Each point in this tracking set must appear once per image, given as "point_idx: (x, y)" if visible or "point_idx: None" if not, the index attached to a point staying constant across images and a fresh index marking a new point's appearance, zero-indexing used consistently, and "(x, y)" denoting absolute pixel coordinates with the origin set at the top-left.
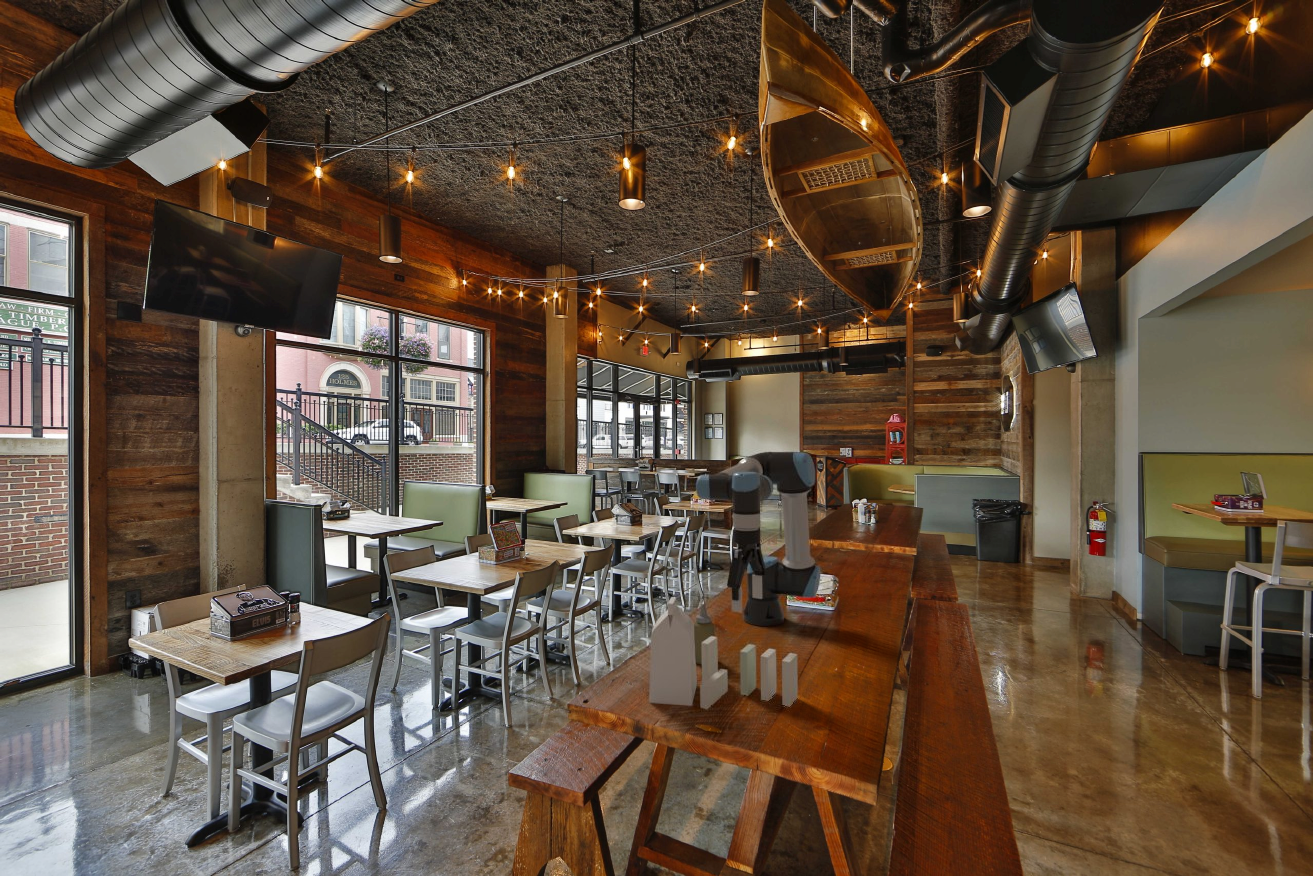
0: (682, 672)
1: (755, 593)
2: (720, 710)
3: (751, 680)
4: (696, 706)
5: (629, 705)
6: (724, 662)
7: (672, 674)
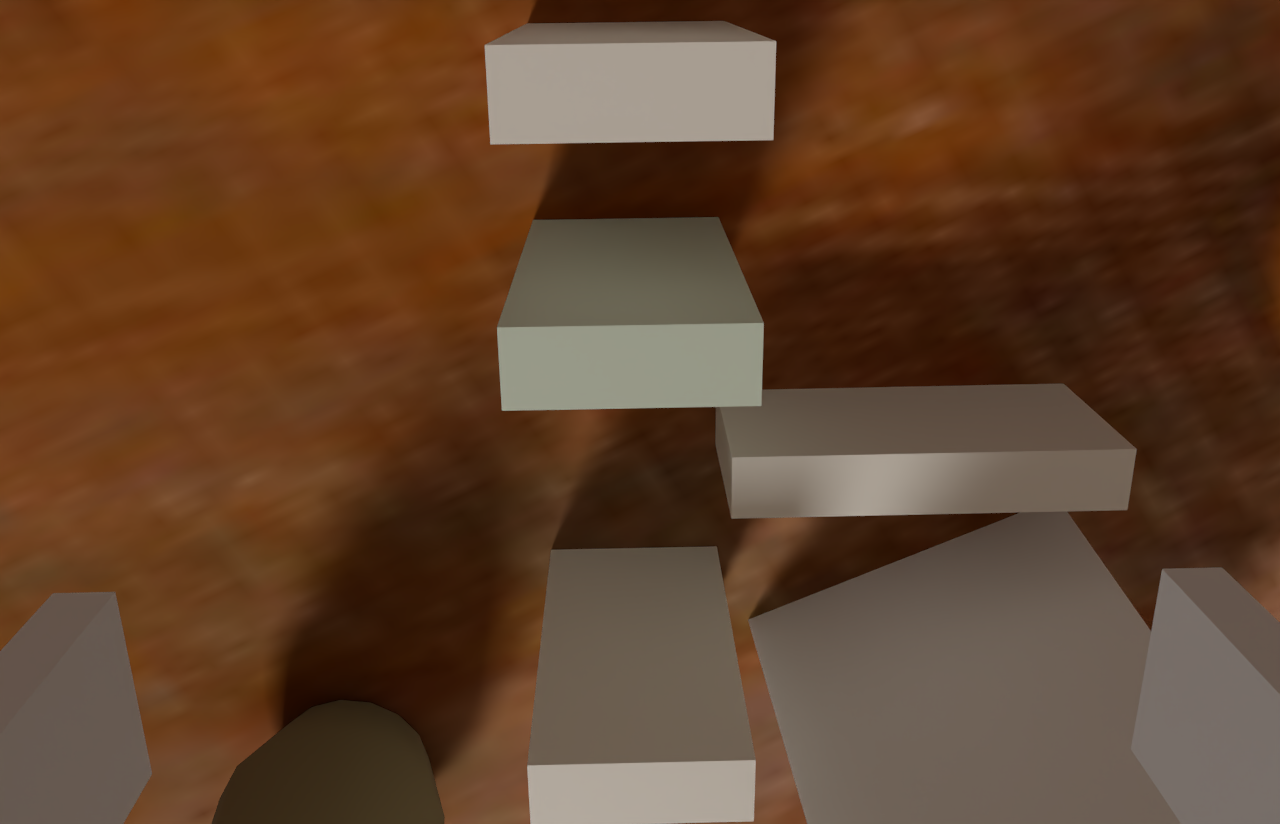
0: None
1: (94, 783)
2: (1033, 294)
3: (632, 240)
4: None
5: None
6: (263, 633)
7: None
